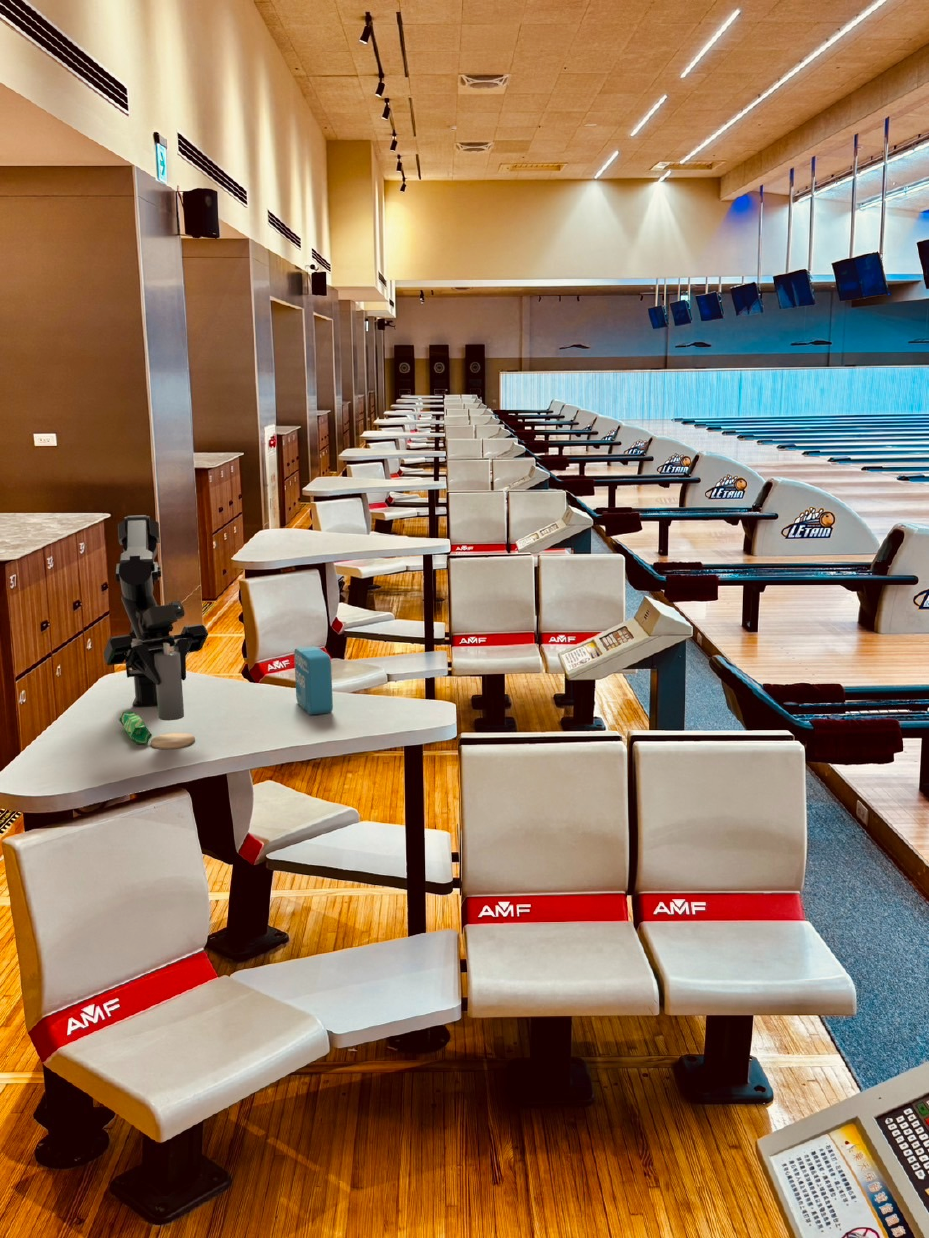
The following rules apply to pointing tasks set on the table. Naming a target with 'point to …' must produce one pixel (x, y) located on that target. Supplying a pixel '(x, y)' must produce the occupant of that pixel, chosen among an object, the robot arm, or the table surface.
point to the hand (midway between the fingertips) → (171, 681)
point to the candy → (135, 727)
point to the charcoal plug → (169, 684)
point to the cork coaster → (172, 740)
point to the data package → (313, 680)
